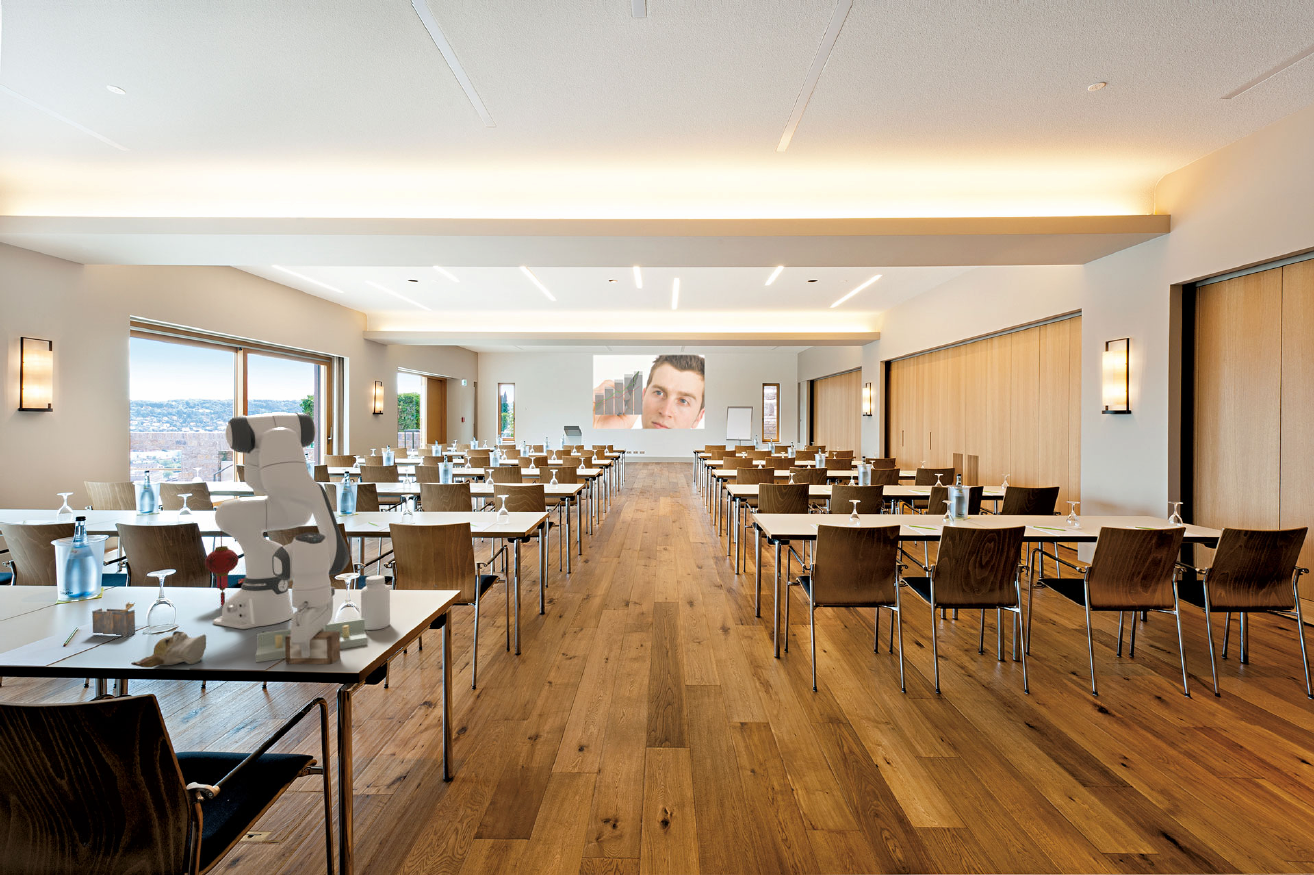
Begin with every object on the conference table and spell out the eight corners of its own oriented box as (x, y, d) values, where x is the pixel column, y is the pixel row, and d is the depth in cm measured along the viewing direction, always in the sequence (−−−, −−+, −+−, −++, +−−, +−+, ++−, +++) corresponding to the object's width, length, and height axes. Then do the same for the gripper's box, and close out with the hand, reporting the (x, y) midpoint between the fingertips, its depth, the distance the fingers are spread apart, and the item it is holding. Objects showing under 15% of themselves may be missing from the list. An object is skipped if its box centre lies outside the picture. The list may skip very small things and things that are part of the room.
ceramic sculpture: (192, 635, 158) (127, 641, 156) (194, 669, 158) (130, 676, 156) (216, 622, 168) (156, 628, 167) (219, 654, 168) (159, 660, 167)
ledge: (255, 662, 162) (255, 642, 162) (258, 652, 169) (257, 633, 169) (366, 644, 175) (366, 626, 175) (364, 636, 182) (364, 618, 182)
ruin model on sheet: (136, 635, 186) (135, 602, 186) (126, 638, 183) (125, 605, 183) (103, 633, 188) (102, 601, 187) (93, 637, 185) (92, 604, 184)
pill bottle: (379, 631, 186) (378, 580, 186) (355, 629, 188) (354, 579, 187) (395, 623, 194) (394, 574, 193) (372, 621, 195) (371, 573, 195)
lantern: (198, 608, 211) (196, 519, 210) (223, 600, 220) (221, 515, 219) (222, 610, 209) (219, 520, 208) (246, 602, 218) (244, 515, 217)
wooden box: (285, 663, 161) (285, 636, 161) (295, 657, 165) (294, 631, 165) (332, 663, 161) (331, 636, 161) (340, 657, 165) (339, 631, 165)
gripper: (310, 607, 153) (312, 664, 154) (337, 586, 173) (338, 636, 174) (282, 609, 152) (283, 666, 152) (312, 587, 172) (313, 638, 172)
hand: (312, 650), depth 163 cm, fingers open, 8 cm apart
